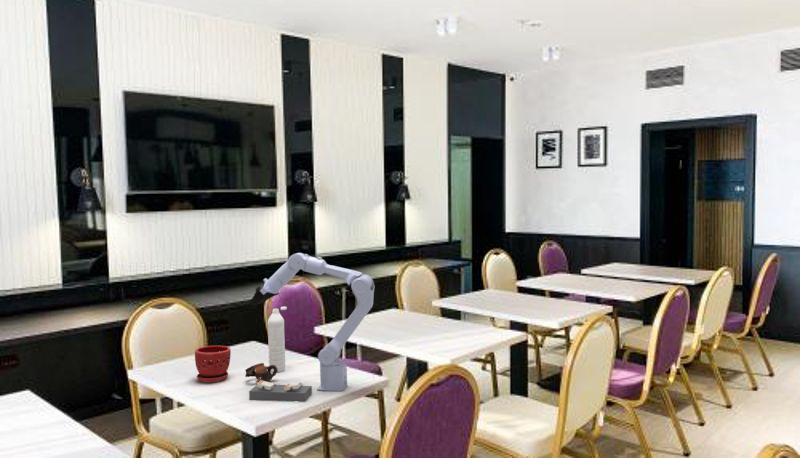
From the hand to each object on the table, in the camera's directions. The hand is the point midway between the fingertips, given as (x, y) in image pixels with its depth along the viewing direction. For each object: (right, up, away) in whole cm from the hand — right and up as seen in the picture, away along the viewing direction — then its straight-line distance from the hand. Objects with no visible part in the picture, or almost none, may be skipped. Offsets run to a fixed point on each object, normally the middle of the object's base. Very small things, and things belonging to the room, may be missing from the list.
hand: (255, 303), depth 230 cm
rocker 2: (+16, -27, -14) cm, 34 cm away
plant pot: (-19, -31, +11) cm, 38 cm away
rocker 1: (+6, -27, -12) cm, 30 cm away
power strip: (+12, -31, -11) cm, 35 cm away
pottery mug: (+1, -31, +7) cm, 32 cm away
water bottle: (+5, -30, +22) cm, 37 cm away
